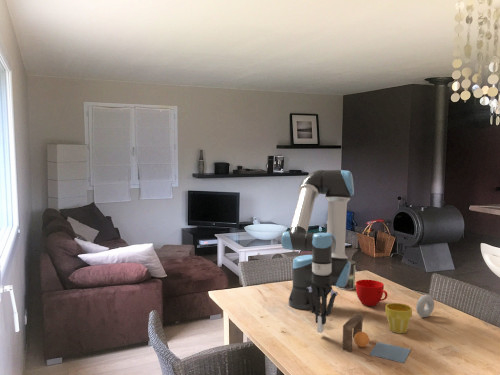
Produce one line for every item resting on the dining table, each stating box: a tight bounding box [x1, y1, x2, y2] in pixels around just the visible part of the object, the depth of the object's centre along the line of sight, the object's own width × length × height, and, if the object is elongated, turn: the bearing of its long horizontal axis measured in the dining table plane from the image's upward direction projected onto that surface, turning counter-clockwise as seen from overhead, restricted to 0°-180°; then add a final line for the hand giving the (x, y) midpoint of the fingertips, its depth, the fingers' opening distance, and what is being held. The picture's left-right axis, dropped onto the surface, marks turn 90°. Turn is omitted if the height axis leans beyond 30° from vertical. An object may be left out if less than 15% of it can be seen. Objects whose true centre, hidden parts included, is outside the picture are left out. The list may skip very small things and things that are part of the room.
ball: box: [353, 331, 370, 348], centre depth 164 cm, size 6×6×6 cm
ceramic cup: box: [355, 279, 388, 307], centre depth 208 cm, size 13×17×10 cm
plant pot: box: [385, 302, 413, 334], centre depth 179 cm, size 10×10×10 cm
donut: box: [415, 294, 435, 318], centre depth 193 cm, size 10×4×10 cm, turn 120°
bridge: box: [342, 313, 364, 352], centre depth 166 cm, size 3×14×9 cm, turn 149°
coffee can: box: [335, 259, 357, 291], centre depth 235 cm, size 10×10×14 cm
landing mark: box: [369, 341, 412, 364], centre depth 159 cm, size 12×12×1 cm
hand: (320, 331), depth 173 cm, fingers closed
